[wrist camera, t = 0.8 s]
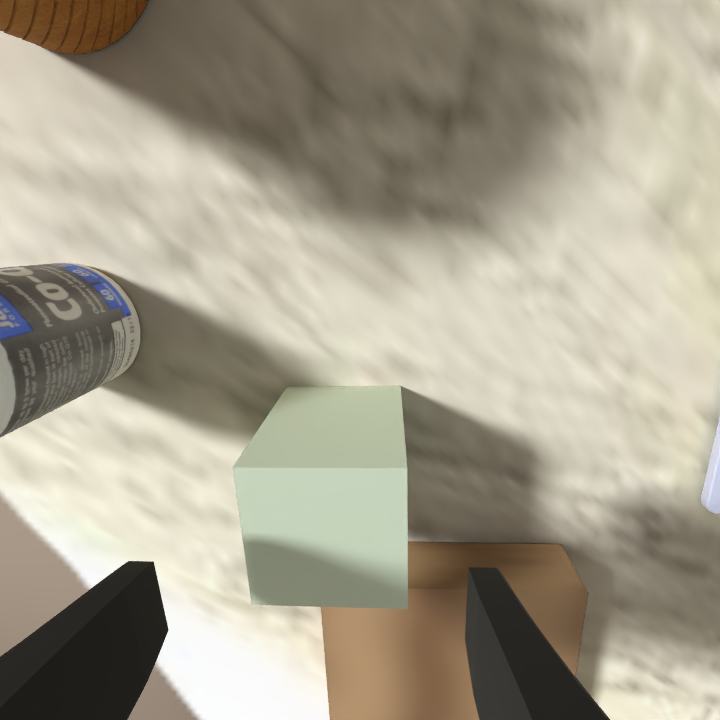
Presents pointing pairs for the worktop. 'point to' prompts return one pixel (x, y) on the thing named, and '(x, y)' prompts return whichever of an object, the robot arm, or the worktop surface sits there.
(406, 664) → the walnut base
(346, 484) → the sage block
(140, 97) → the worktop surface
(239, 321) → the worktop surface
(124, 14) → the disposable coffee cup
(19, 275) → the pill bottle
